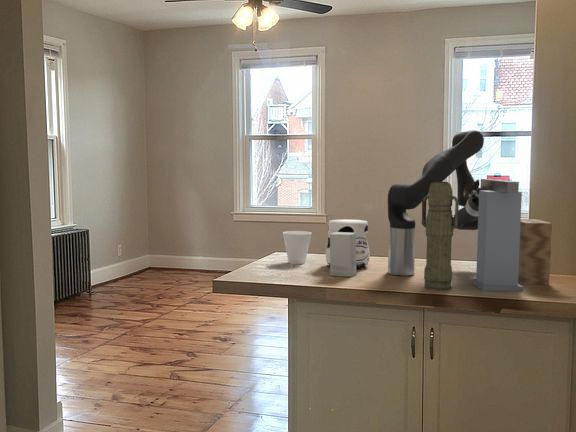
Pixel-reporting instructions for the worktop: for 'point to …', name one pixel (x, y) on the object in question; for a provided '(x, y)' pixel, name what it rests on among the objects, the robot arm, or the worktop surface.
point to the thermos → (439, 235)
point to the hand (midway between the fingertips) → (490, 182)
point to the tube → (500, 185)
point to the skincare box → (343, 254)
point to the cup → (297, 245)
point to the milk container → (361, 238)
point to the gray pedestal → (498, 241)
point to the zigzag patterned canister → (534, 251)
